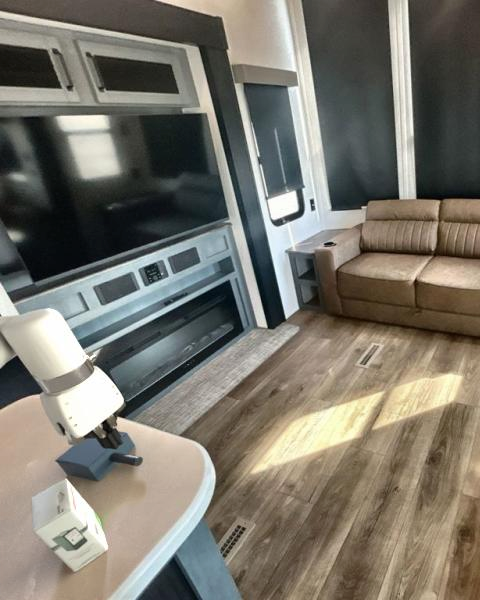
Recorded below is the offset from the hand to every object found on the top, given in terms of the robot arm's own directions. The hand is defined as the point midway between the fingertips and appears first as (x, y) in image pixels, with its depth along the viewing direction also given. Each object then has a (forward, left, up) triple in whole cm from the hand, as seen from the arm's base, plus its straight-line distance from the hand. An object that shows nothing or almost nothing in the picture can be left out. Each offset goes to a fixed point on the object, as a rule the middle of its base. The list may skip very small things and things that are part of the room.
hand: (114, 445), depth 74 cm
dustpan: (-4, 0, -2) cm, 5 cm away
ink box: (+7, -14, -7) cm, 17 cm away
